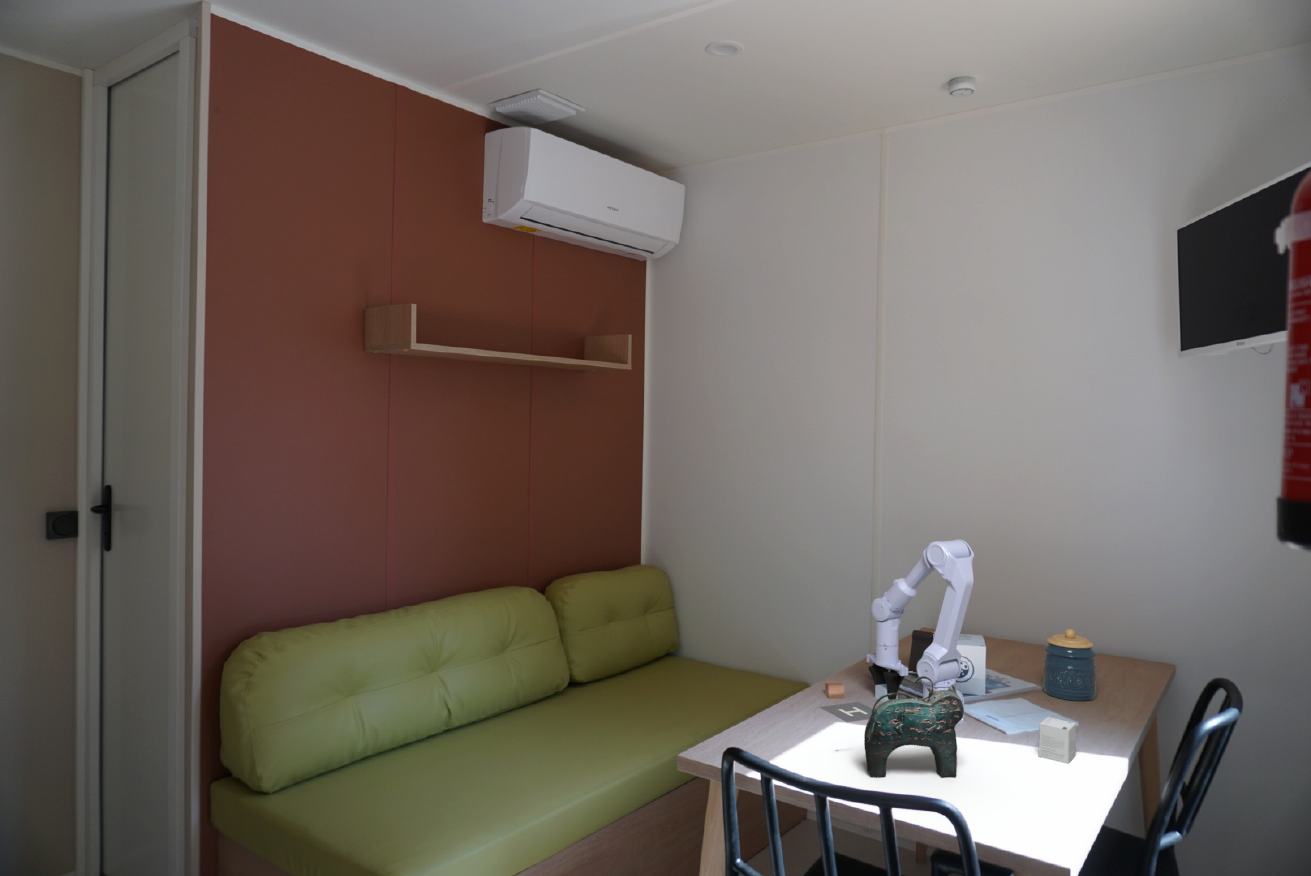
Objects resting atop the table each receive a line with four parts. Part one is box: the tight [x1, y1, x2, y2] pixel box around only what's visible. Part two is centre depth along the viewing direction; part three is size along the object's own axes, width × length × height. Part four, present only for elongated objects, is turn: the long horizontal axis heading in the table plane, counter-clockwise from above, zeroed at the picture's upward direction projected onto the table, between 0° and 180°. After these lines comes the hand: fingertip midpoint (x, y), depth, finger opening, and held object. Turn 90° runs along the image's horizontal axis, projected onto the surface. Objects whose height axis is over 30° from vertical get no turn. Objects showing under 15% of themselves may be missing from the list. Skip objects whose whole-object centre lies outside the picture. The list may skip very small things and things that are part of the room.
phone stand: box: [907, 629, 935, 672], centre depth 247 cm, size 9×6×12 cm, turn 143°
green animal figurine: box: [863, 676, 965, 779], centre depth 171 cm, size 20×6×20 cm, turn 92°
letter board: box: [819, 701, 873, 723], centre depth 208 cm, size 12×12×1 cm
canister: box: [1042, 628, 1098, 702], centre depth 227 cm, size 13×13×18 cm
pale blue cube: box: [874, 684, 899, 703], centre depth 218 cm, size 4×4×4 cm
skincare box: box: [1038, 716, 1077, 765], centre depth 182 cm, size 6×6×7 cm
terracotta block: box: [824, 681, 845, 700], centre depth 221 cm, size 4×4×4 cm
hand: (886, 696), depth 218 cm, fingers closed on pale blue cube, 4 cm apart
